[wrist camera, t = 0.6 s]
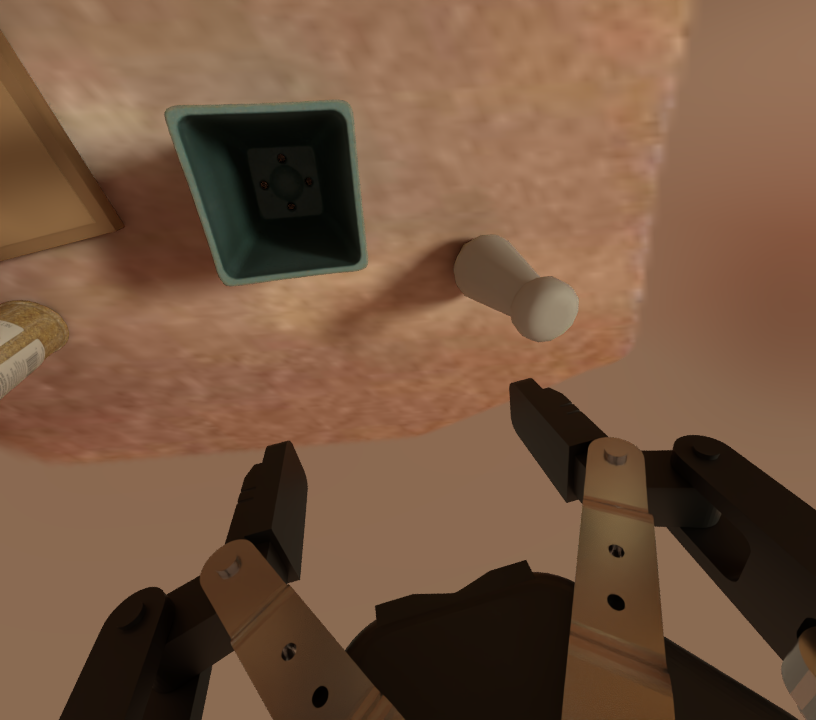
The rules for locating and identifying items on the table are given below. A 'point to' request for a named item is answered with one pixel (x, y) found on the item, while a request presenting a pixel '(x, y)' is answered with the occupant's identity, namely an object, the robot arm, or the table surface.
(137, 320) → the table surface
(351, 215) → the flower pot
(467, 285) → the salt shaker
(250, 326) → the table surface
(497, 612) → the robot arm
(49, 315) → the sprinkles bottle
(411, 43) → the table surface
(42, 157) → the brown rectangular tray
